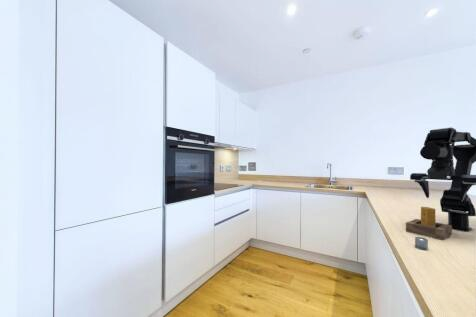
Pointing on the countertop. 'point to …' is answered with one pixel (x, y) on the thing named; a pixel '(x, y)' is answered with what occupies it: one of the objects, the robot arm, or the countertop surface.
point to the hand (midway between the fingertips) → (443, 199)
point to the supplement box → (428, 216)
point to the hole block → (429, 229)
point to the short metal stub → (421, 243)
